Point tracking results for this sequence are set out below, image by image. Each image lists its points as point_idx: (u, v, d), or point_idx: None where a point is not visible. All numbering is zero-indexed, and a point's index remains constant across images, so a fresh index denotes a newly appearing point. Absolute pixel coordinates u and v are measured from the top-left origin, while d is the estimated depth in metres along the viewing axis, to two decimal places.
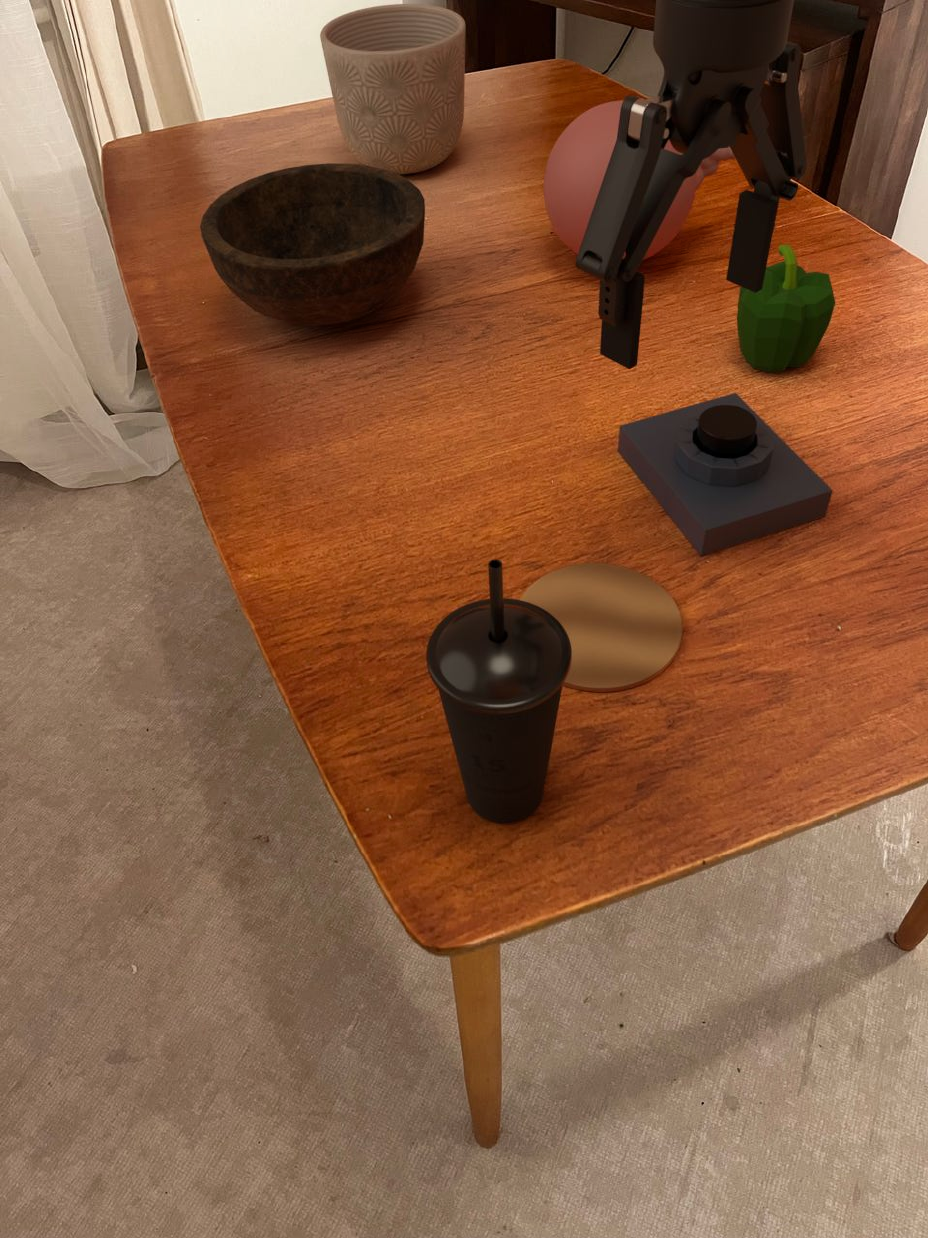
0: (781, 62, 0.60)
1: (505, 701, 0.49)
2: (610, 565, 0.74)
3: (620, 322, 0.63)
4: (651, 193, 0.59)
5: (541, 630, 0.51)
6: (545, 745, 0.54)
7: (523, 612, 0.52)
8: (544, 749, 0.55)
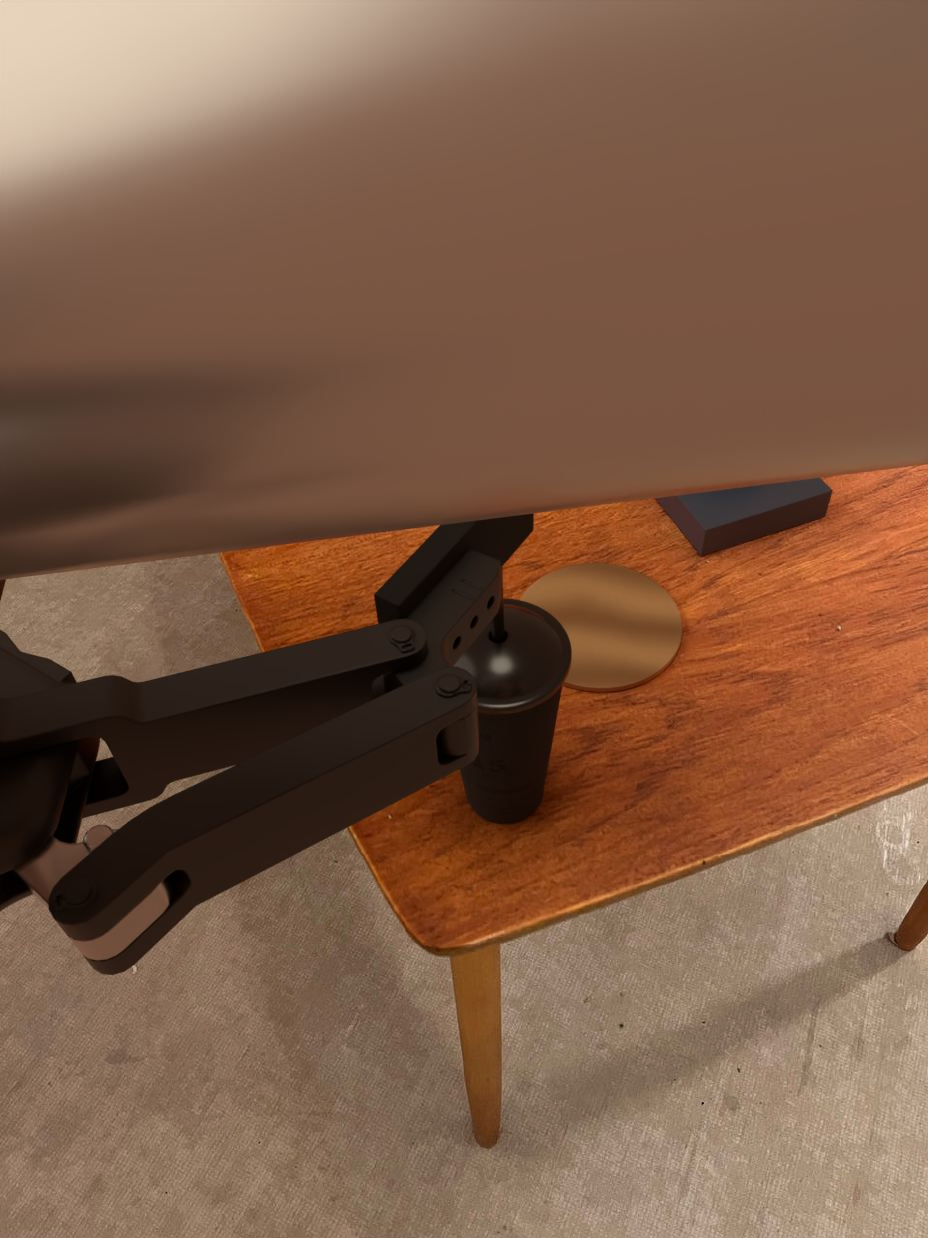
0: None
1: (505, 701, 0.49)
2: (610, 565, 0.74)
3: (484, 557, 0.25)
4: (223, 725, 0.23)
5: (541, 630, 0.51)
6: (545, 745, 0.54)
7: (523, 612, 0.52)
8: (544, 749, 0.55)
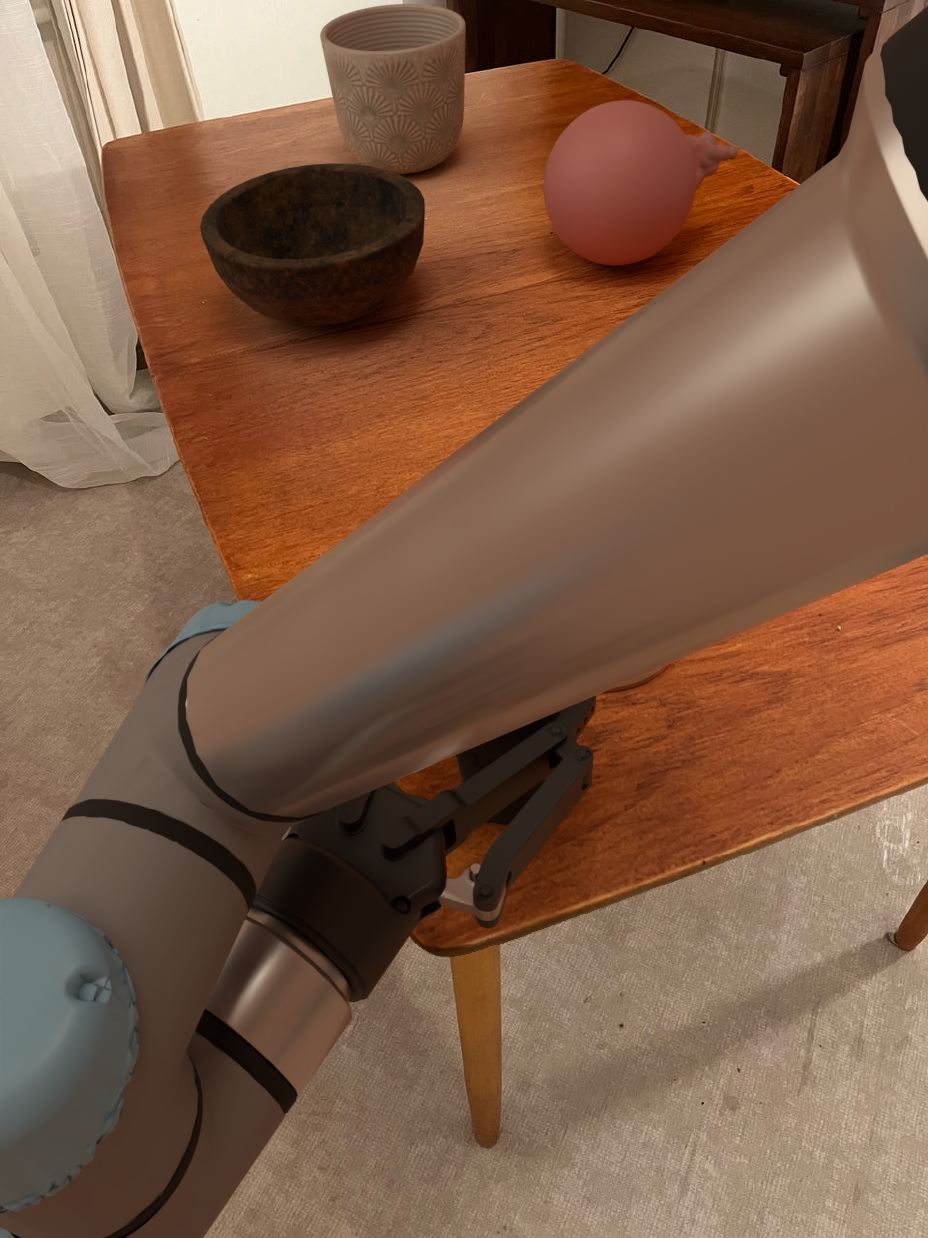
0: None
1: None
2: None
3: None
4: (495, 796, 0.48)
5: None
6: None
7: None
8: None
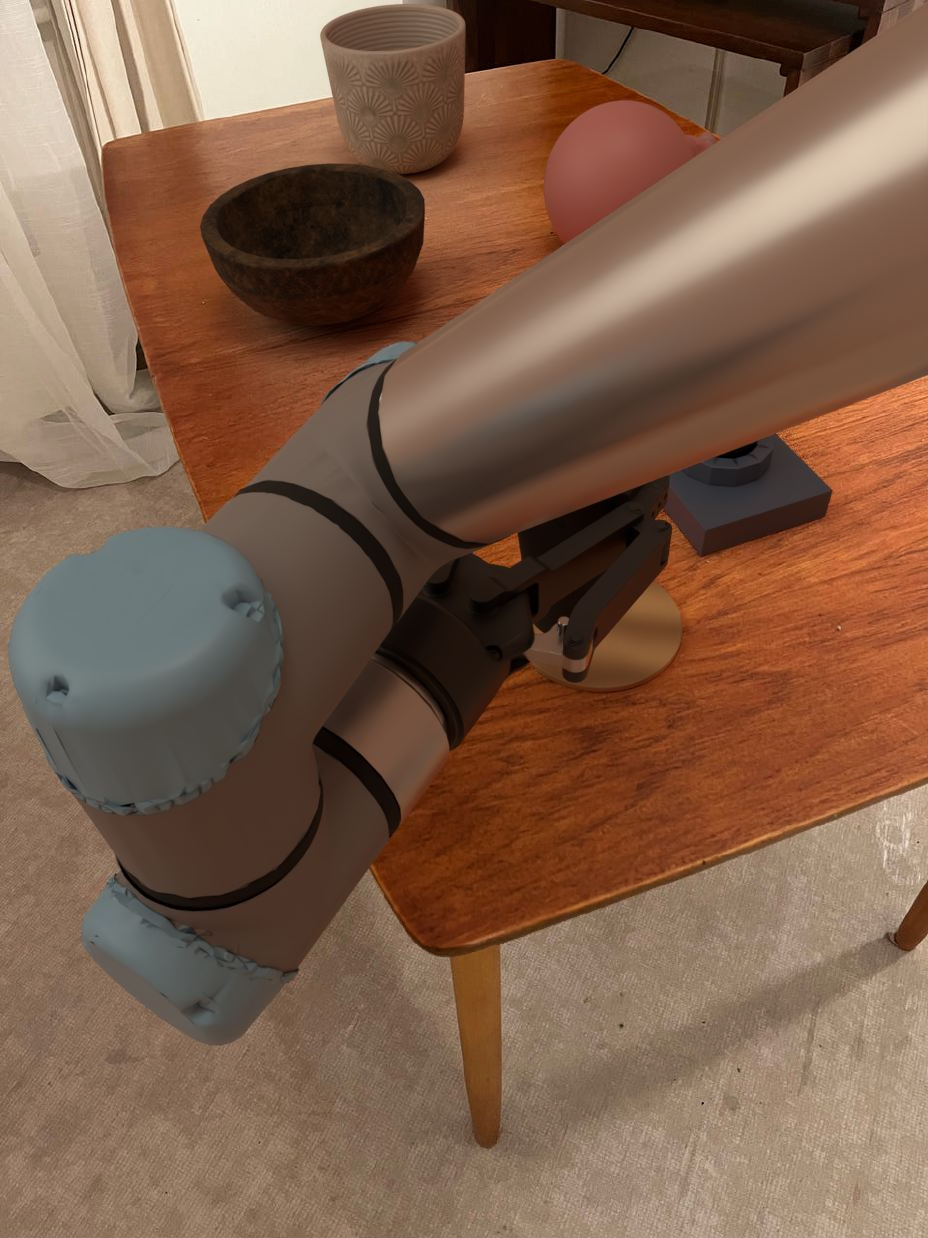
0: None
1: None
2: None
3: None
4: (576, 567, 0.49)
5: None
6: None
7: None
8: None
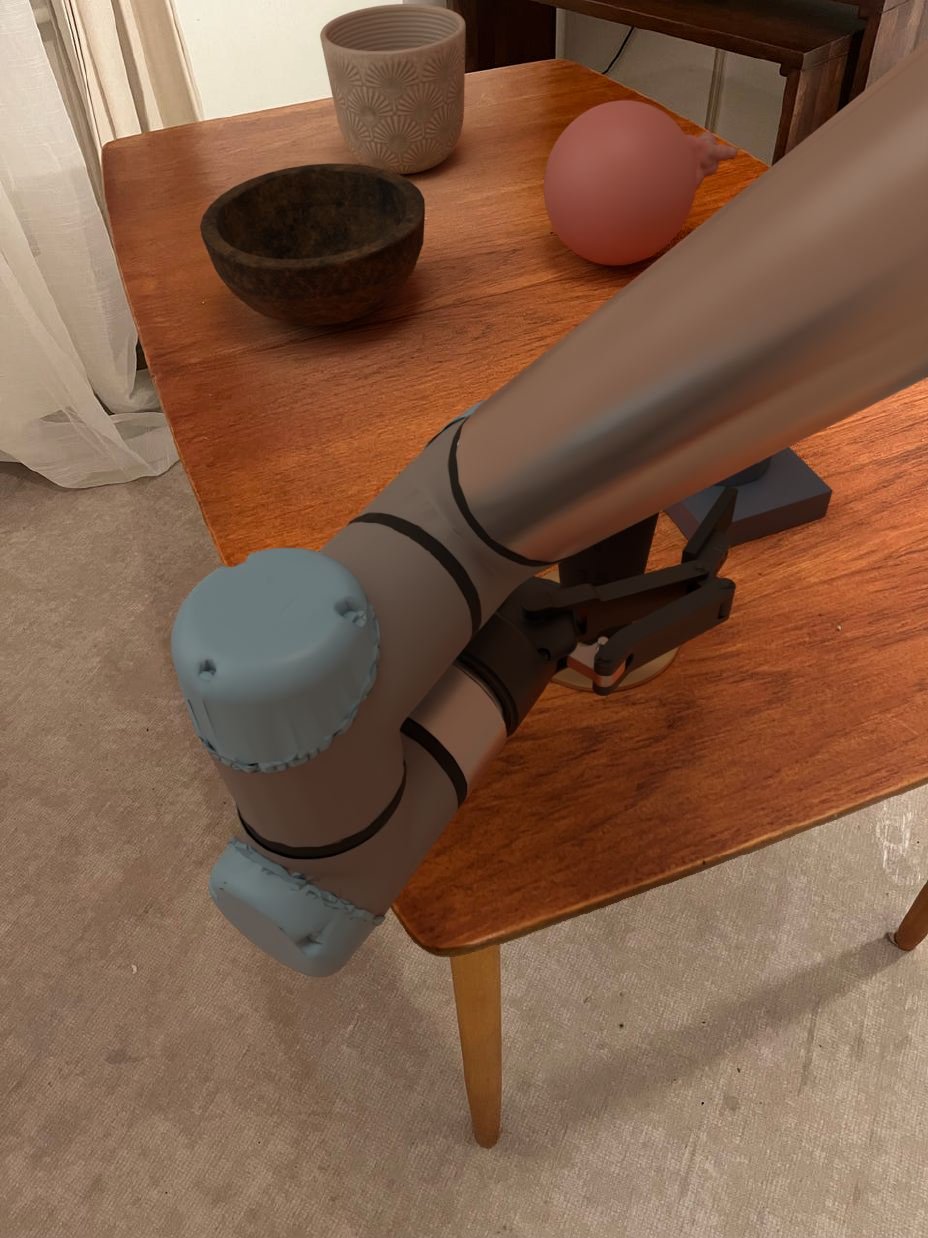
0: None
1: None
2: None
3: (723, 534, 0.58)
4: (629, 604, 0.55)
5: None
6: (643, 563, 0.63)
7: None
8: (641, 567, 0.63)
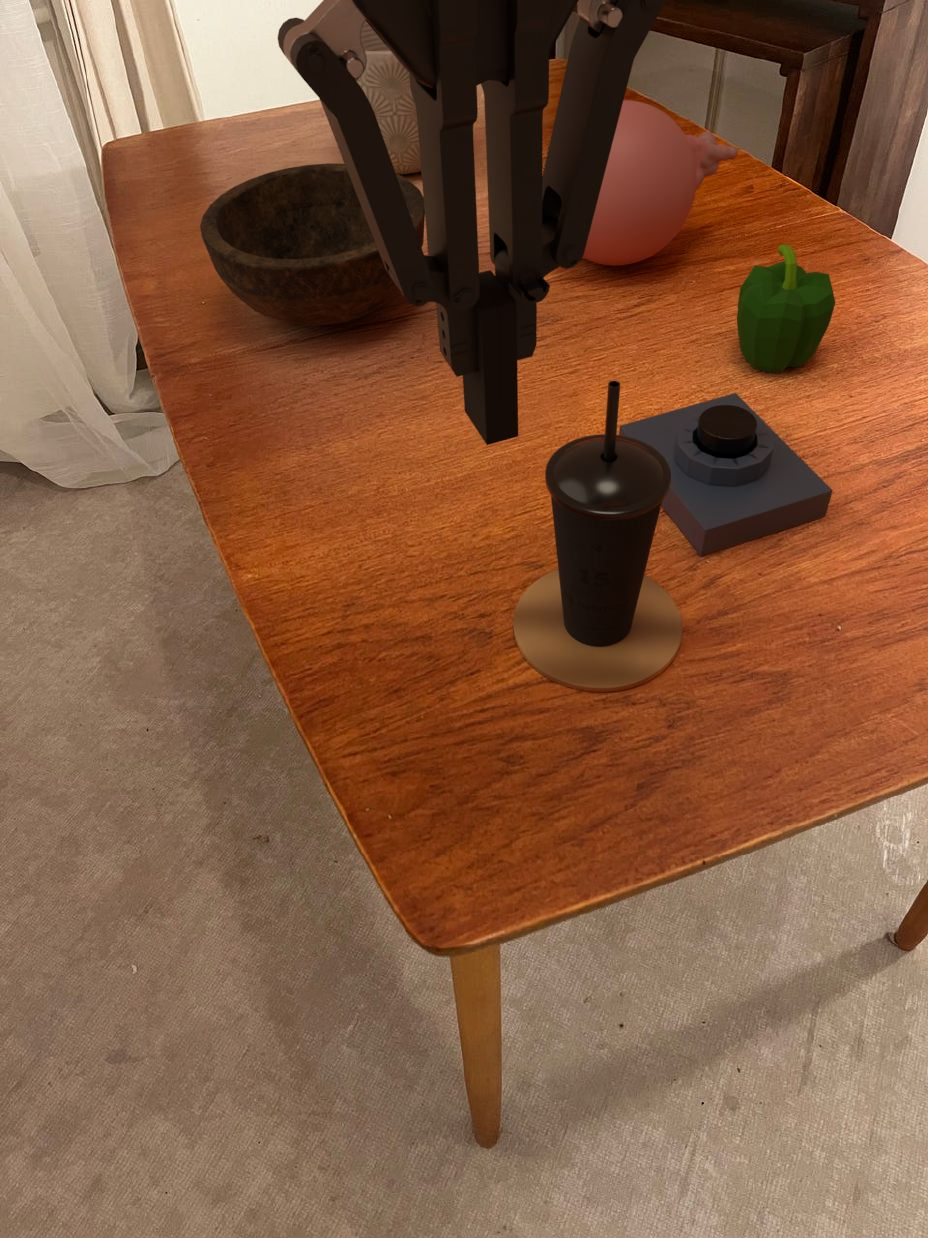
0: None
1: (618, 508, 0.57)
2: None
3: (466, 371, 0.40)
4: (434, 172, 0.34)
5: (644, 454, 0.60)
6: (643, 563, 0.63)
7: (627, 442, 0.61)
8: (641, 567, 0.63)
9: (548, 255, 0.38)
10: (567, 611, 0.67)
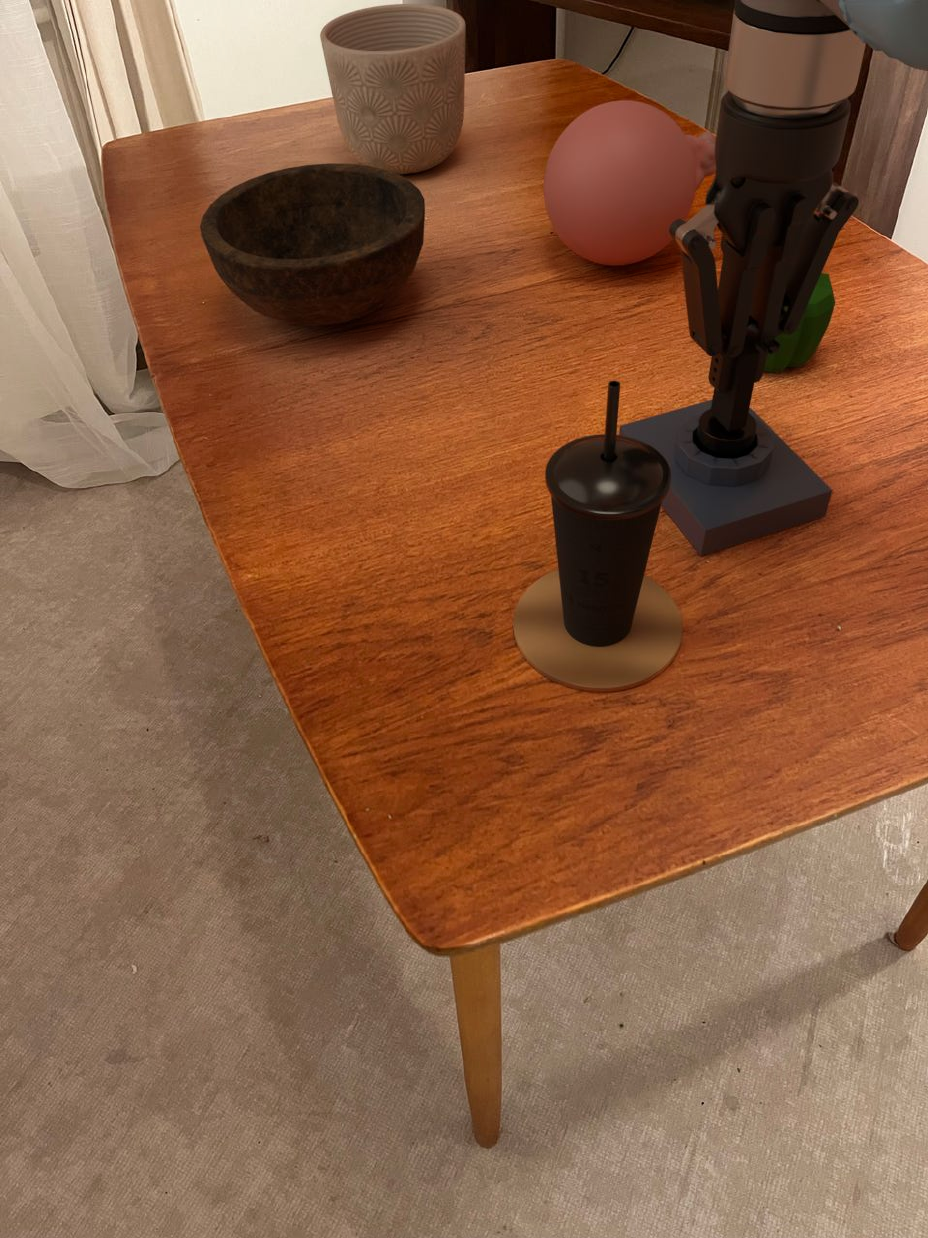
0: (837, 203, 0.64)
1: (618, 508, 0.57)
2: None
3: (724, 390, 0.72)
4: (732, 288, 0.66)
5: (644, 454, 0.60)
6: (643, 563, 0.63)
7: (627, 442, 0.61)
8: (641, 567, 0.63)
9: (778, 327, 0.70)
10: (567, 611, 0.67)
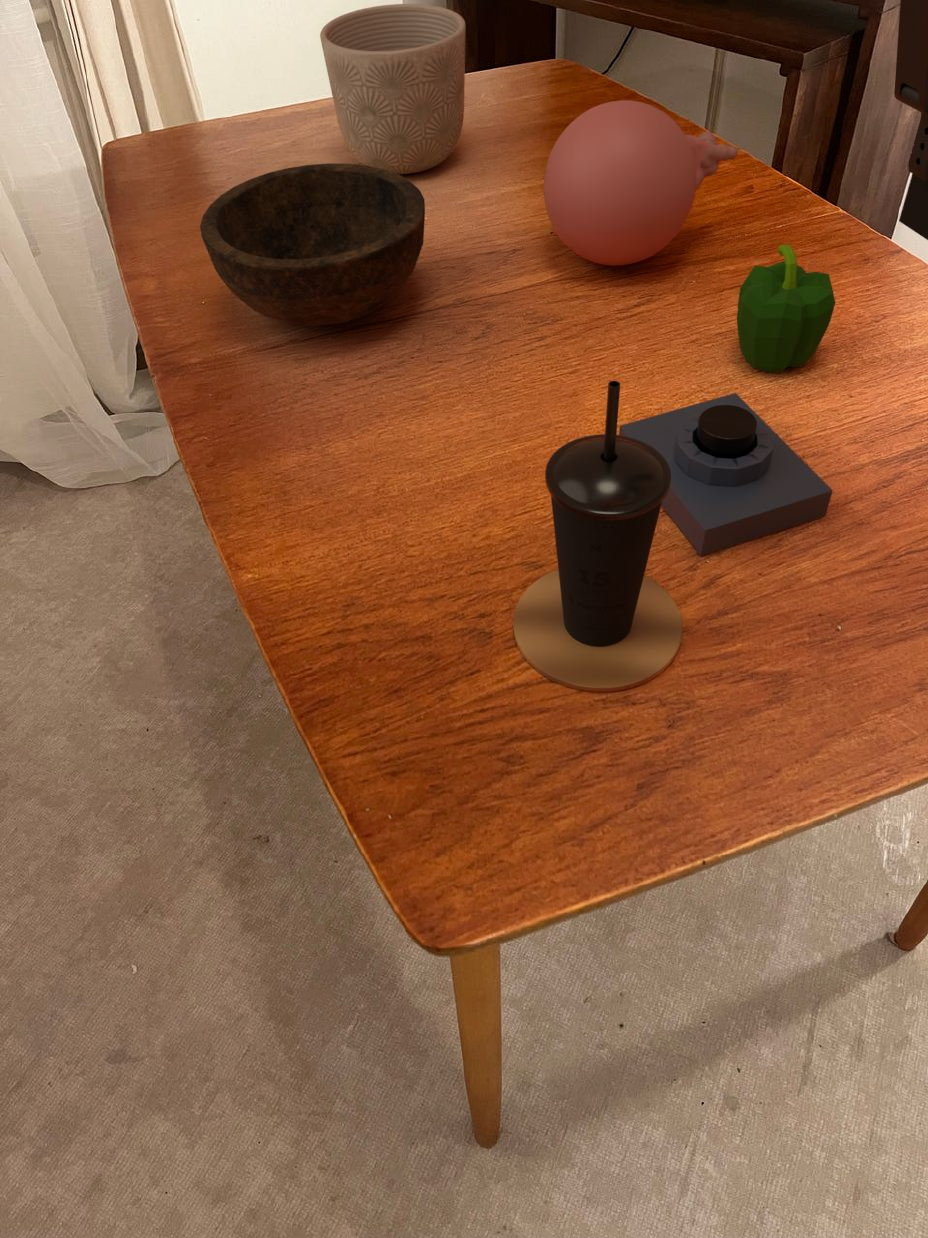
0: None
1: (618, 508, 0.57)
2: None
3: None
4: None
5: (644, 454, 0.60)
6: (643, 563, 0.63)
7: (627, 442, 0.61)
8: (641, 567, 0.63)
9: None
10: (567, 611, 0.67)
